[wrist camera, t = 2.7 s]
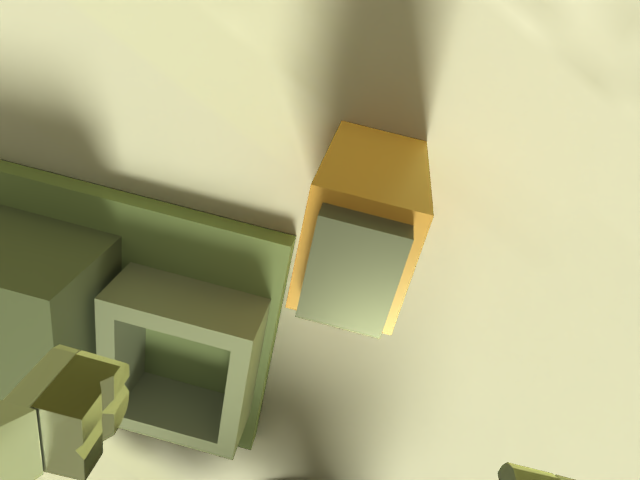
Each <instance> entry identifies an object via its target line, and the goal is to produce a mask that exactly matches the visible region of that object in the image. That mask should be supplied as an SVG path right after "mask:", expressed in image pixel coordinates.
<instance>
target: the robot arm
mask: <svg viewBox="0 0 640 480" xmlns="http://www.w3.org/2000/svg"><path fill="white" fill-rule="evenodd" d="M128 378H129V364H127V363H124V362H121V361H117V360H114V359H110V358H107V357H103V356H100V355H97V354H93V353H90V352H86V351H83V350H78V349H75V348H71V347H68V346H64V345H61V344H59V345H57V346H55V347H53V348H52V349H51V350H50V351H49V352H48V353H47V354H46V355H45V356H44V357H43V358H42V359H41V360H40V361H39V362H38V363H37V364H36V365H35V367H34V368H33V369H32V370H31V371H30V372H29V373H28V374H27V375H26V376H25V377H24V378H23V379H22V380H21V381H20V382H19V383H18V384H17V386H16V387H15V388H14V389H13V390H12V391H11V392H10V393H9V394H8V395H7V396H6V397H5V398H4V399H3V400H0V480H35V479H37V478H38V477H40V476H41V475H43V472H48V473H52V474H56V475H60V476H64V477H69V478H73V479H77V480H86V479H87V477H88V476H89V474H90V472H91V471H92V469H93V468H94V466H95V465H96V463H97V461H98V460H99V458H100V457H101V455H102V453H103V441H104V440H106V439H108V438H109V437H111V436H113V435H114V434H115V433H116V431H117V429H118V428H119V426H120V424H121V422H122V420H123V417H124V415H125V413H126V410H127V406H128V401H129V390H128V389H127V387H126V386H125V385H124V384H125V382H126V381H127V379H128ZM498 478H499V480H575V479H571V478H567V477H563V476H559V475H554V474H552V473H549V472H545V471H541V470H537V469H533V468H529V467H525V466H521V465H517V464H513V463H509V462H507V463H505V464H504V465H502V467H501V468H500V470H499V471H498Z"/></svg>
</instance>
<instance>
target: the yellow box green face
mask: <svg viewBox="0 0 640 480" xmlns="http://www.w3.org/2000/svg"><path fill="white" fill-rule="evenodd" d="M433 216H434V213H433V202H432V192H431V181H430V171H429V160H428V150H427V141H423V140H419V139H415V138H411V137H407V136H402V135H398V134H394V133H390V132H386V131H382V130H378V129H374V128H370V127H366V126H362V125H358V124H354V123H350V122H346V121H341V123H340V125H339V127H338V129H337V131H336V133H335V135H334V138H333V140H332V142H331V144H330V146H329V148H328V150H327V152H326V154H325V156H324V158H323V160H322V162H321V165H320V167H319V169H318V171H317V173H316V175H315V177H314V179H313V181H312V183H311V186H310V191H309V196H308V201H307V206H306V211H305V215H304V220H303V225H302V230H301V235H300V239H299V244H298V249H297V254H296V259H295V263H294V268H293V273H292V278H291V283H290V288H289V292H288V297H287V302H286V308H290V309H294V310H297V311H296V316H295V317H298V318H302V319H306V320H310V321H313V322H317V323H321V324H325V325H328V326H332V327H336V328H340V329H343V330H347V331H351V332H355V333H358V334H362V335H366V336H370V337H373V338H377V339H380V337H381V334H382V333H384V334H388V335H392V332H393V329H394V326H395V323H396V320H397V318H398V315H399V312H400V309H401V306H402V304H403V301H404V298H405V295H406V292H407V290H408V287H409V284H410V281H411V278H412V275H413V273H414V270H415V267H416V264H417V261H418V259H419V256H420V253H421V250H422V247H423V245H424V242H425V239H426V236H427V233H428V230H429V228H430V225H431V222H432V219H433Z"/></svg>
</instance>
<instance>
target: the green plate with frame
mask: <svg viewBox="0 0 640 480" xmlns="http://www.w3.org/2000/svg"><path fill="white" fill-rule="evenodd" d="M295 239H296V236H294V235H290V234H286V233H282V232H278V231H274V230H271V229H267V228H263V227H259V226H255V225H251V224H247V223H244V222H240V221H236V220H232V219H228V218H224V217H220V216H216V215H213V214H209V213H205V212H201V211H197V210H193V209H189V208H186V207H182V206H178V205H174V204H170V203H166V202H162V201H159V200H155V199H151V198H147V197H143V196H139V195H135V194H131V193H128V192H124V191H120V190H116V189H112V188H108V187H104V186H101V185H97V184H93V183H89V182H85V181H81V180H77V179H73V178H70V177H66V176H62V175H58V174H54V173H50V172H46V171H43V170H39V169H35V168H31V167H27V166H23V165H19V164H16V163H12V162H8V161H4V160H0V400H3V399H4V398H5V397H6V396H7V395H8V394H9V393H10V392H11V391H12V390H13V389H14V388H15V387H16V386H17V384H18V383H19V382H20V381H21V380H22V379H23V378H24V377H25V376H26V375H27V374H28V373H29V372H30V371H31V370H32V369H33V368H34V367H35V365H36V364H37V363H38V362H39V361H40V360H41V359H42V358H43V357H44V356H45V355H46V354H47V353H48V352H49V351H50V350H51V349H52V348H53V347H55V346H57V345H59V344H61V345H64V346H68V347H71V348H75V349H78V350H83V351H86V352H90V353H93V354H97V355H100V356H103V357H107V358H110V359H114V360H117V361H121V362H124V363H127V364H129V378H128V379H127V381H126V382H125V384H124V385H125V386H126V387H127V389H128V390H129V401H128V406H127V410H126V413H125V415H124V417H123V420H122V422H121V424H120V426H119V428H121V429H124V430H128V431H131V432H135V433H138V434H142V435H145V436H149V437H153V438H156V439H160V440H163V441H167V442H170V443H174V444H177V445H181V446H185V447H188V448H192V449H195V450H199V451H202V452H206V453H209V454H213V455H217V456H220V457H224V458H227V459H231V460H233V457H234V455H235V452H236V449H237V447H241V448H245V449H248V450H251V448H252V445H253V442H254V439H255V436H256V431H257V426H258V421H259V416H260V411H261V406H262V401H263V397H264V392H265V387H266V382H267V377H268V372H269V367H270V362H271V357H272V352H273V347H274V342H275V337H276V332H277V327H278V323H279V318H280V313H281V308H282V303H283V298H284V293H285V288H286V283H287V278H288V273H289V268H290V263H291V258H292V253H293V249H294V244H295Z"/></svg>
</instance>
